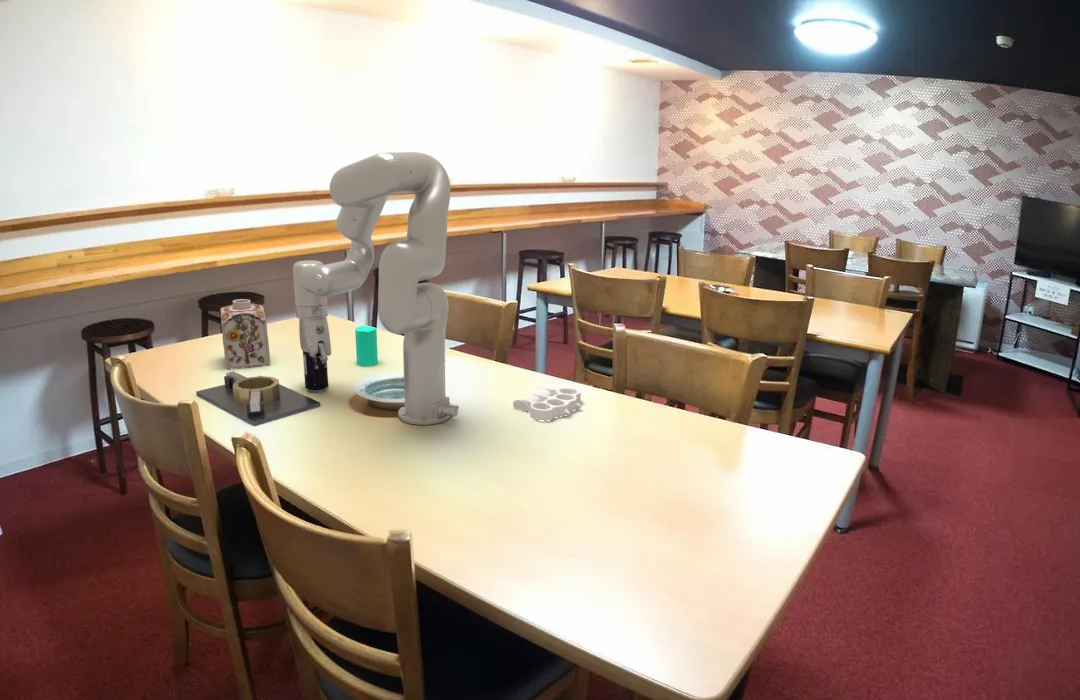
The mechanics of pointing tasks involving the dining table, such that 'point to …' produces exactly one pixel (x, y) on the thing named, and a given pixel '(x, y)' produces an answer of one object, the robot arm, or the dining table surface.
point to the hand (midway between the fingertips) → (316, 378)
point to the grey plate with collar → (256, 398)
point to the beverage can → (312, 373)
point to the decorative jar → (244, 335)
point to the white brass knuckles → (549, 402)
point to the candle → (366, 345)
